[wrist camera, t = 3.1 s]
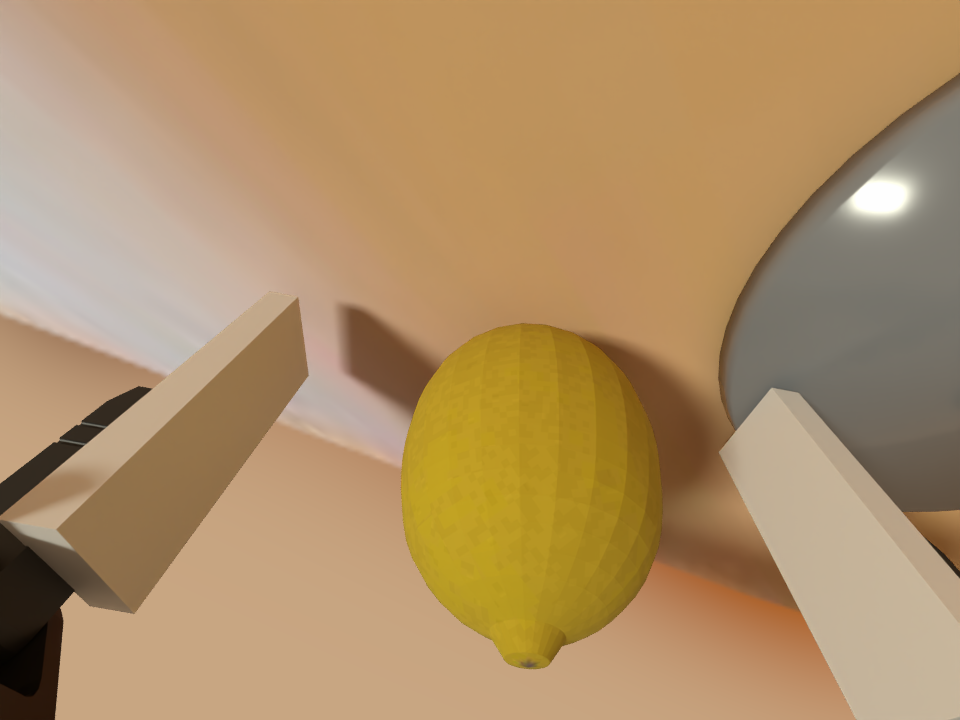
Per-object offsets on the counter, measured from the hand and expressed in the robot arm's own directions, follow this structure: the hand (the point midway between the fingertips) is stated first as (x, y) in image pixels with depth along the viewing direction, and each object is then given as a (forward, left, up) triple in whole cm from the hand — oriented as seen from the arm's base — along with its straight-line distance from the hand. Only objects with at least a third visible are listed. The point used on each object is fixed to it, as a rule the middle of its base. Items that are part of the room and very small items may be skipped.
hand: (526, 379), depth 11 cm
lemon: (0, 0, -2) cm, 2 cm away
